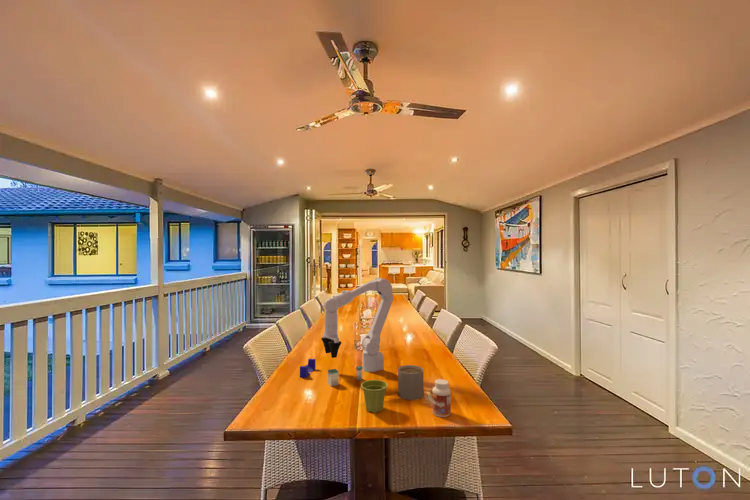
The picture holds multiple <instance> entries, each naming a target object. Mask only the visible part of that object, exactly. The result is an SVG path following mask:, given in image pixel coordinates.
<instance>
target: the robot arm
mask: <svg viewBox="0 0 750 500" xmlns="http://www.w3.org/2000/svg"><path fill="white" fill-rule="evenodd" d="M370 291H371V292H373V291H374V292H377V293H378V295H379V297H380V299H381V300H380V303H379V305H378V309H377V310H376V313H375V316H374V319H373V321H372V323H371V326H370V329H369V331H368V332H367V333H366V335H365V337H364V338H363V339H362V340H361V346H362V348H363V351H362V367H363V369H362V372H367V373H375V372H379V371H384V369H385V367H384V366H385V363H384V361H385V358H384V354H383V352H381V351H380V344H381V333H382V331H383V329H384V326H385V323H386V320H387V317H388V315H389V312H390V310H391V308H392V307H391V306H392V303H393V301H394V295H393V285H392V284H391V282H390V281H389V280H388V279H386V278H382V277H376V278H375V279H371V280H369V281H367V282H365V283H363V284H362V285H359V286H358V287H356V288H355V289H352V290H348V289H347V290H341V292H340V293H338V294H336V295H332V296H331V297H328V298H327V299H326V300H325V301H324V303H323V307H324V308H325V309H324V331H323V335H322V336H321V340H322V344H323V347H324V352H325V354H330V356H331V358H332V359H334V358H336V359H337V358H338V352H339V350H340V347H341V345H342V341H340V337H339V334H338V310H339V308H343V307H344V306H346V305H348V304H349V303H352V302H353V300H354V298H356V297H358V296H361V295H363V294H365V293H367V292H370Z"/></svg>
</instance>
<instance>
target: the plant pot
mask: <svg viewBox="0 0 750 500" xmlns="http://www.w3.org/2000/svg"><path fill="white" fill-rule="evenodd" d="M360 386H361V388H362V391H363V396H364V397H363V398H364V403H365V404H364V405H365V410H366V411H367V412H372V413H380V412H382V410H384V405H385V403H384V402H385V397H386V391H387V388H388V383H387V382H385V381H384V380H380V379H370V380H365V381H363V382H362V383H361V385H360Z"/></svg>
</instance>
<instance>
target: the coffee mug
mask: <svg viewBox="0 0 750 500" xmlns="http://www.w3.org/2000/svg"><path fill="white" fill-rule="evenodd" d="M397 391H398V392H397V395H398V397H399V398H401V399H403V400H408V401H417V400H420V399H422V398H423V397H424V368H423V367H421V366H419V365H413V364H405V365H401V366H399V367H397Z"/></svg>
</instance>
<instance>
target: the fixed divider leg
mask: <svg viewBox="0 0 750 500" xmlns="http://www.w3.org/2000/svg"><path fill="white" fill-rule="evenodd" d="M355 369H356V381H363V365H362V366H361V365H357V366H355Z"/></svg>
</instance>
